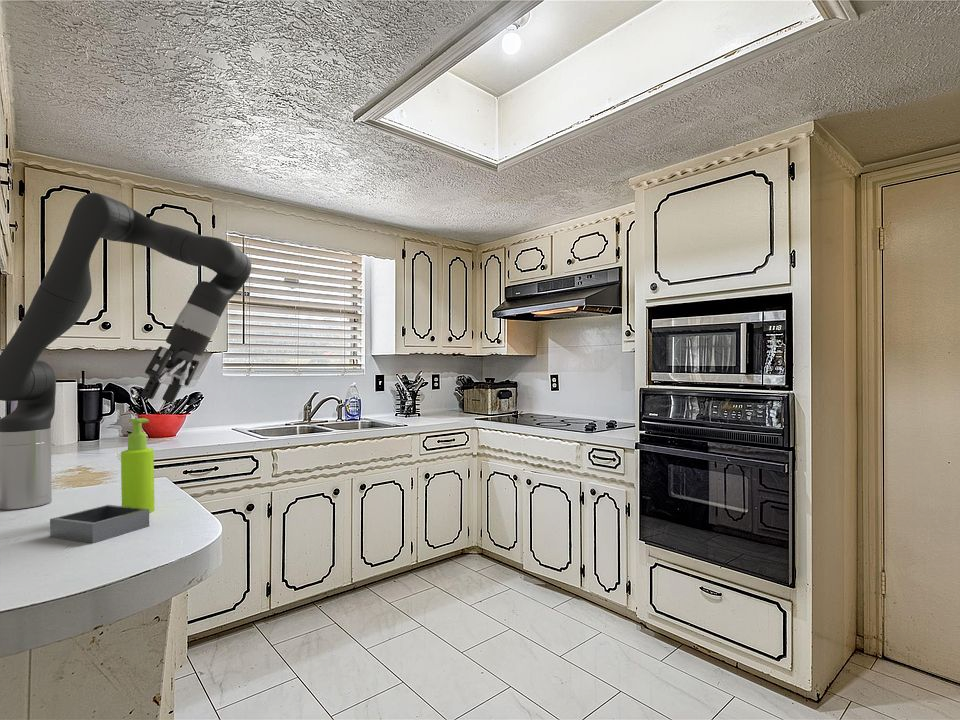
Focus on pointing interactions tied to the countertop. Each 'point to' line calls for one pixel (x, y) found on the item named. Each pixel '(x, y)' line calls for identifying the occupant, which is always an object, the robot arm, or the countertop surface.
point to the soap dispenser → (137, 469)
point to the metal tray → (99, 523)
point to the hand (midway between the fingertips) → (157, 399)
